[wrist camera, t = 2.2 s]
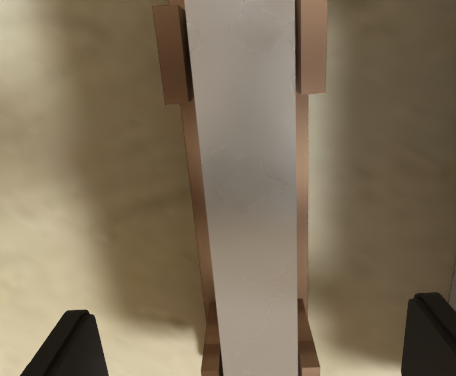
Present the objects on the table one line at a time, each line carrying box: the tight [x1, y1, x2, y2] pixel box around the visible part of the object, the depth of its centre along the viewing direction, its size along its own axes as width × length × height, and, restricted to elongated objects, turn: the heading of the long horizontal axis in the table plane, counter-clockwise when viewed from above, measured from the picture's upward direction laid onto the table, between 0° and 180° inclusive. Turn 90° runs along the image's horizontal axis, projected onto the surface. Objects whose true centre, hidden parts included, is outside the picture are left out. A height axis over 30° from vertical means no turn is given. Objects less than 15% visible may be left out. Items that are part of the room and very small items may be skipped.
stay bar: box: [184, 0, 298, 376], centre depth 14 cm, size 20×3×3 cm, turn 4°
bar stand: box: [152, 0, 328, 376], centre depth 17 cm, size 22×6×6 cm, turn 4°
